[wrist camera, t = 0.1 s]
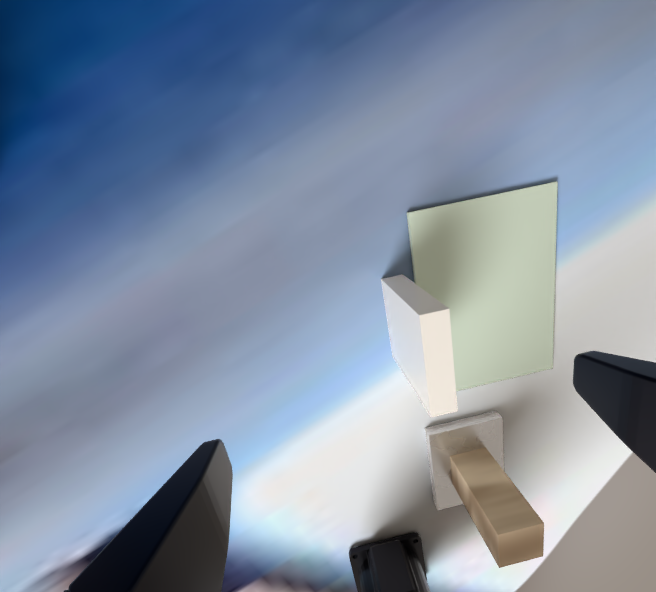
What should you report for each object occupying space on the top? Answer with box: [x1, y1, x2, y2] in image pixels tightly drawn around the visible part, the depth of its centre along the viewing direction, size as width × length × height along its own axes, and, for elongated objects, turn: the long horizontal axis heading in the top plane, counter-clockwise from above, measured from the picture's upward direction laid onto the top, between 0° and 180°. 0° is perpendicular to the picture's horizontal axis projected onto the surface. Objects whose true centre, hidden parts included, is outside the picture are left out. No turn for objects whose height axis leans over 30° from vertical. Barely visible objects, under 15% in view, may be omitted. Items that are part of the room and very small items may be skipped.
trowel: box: [425, 411, 544, 568], centre depth 25 cm, size 8×6×8 cm
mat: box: [407, 182, 557, 391], centre depth 24 cm, size 14×10×1 cm
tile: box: [381, 274, 458, 418], centre depth 20 cm, size 6×2×7 cm, turn 11°
